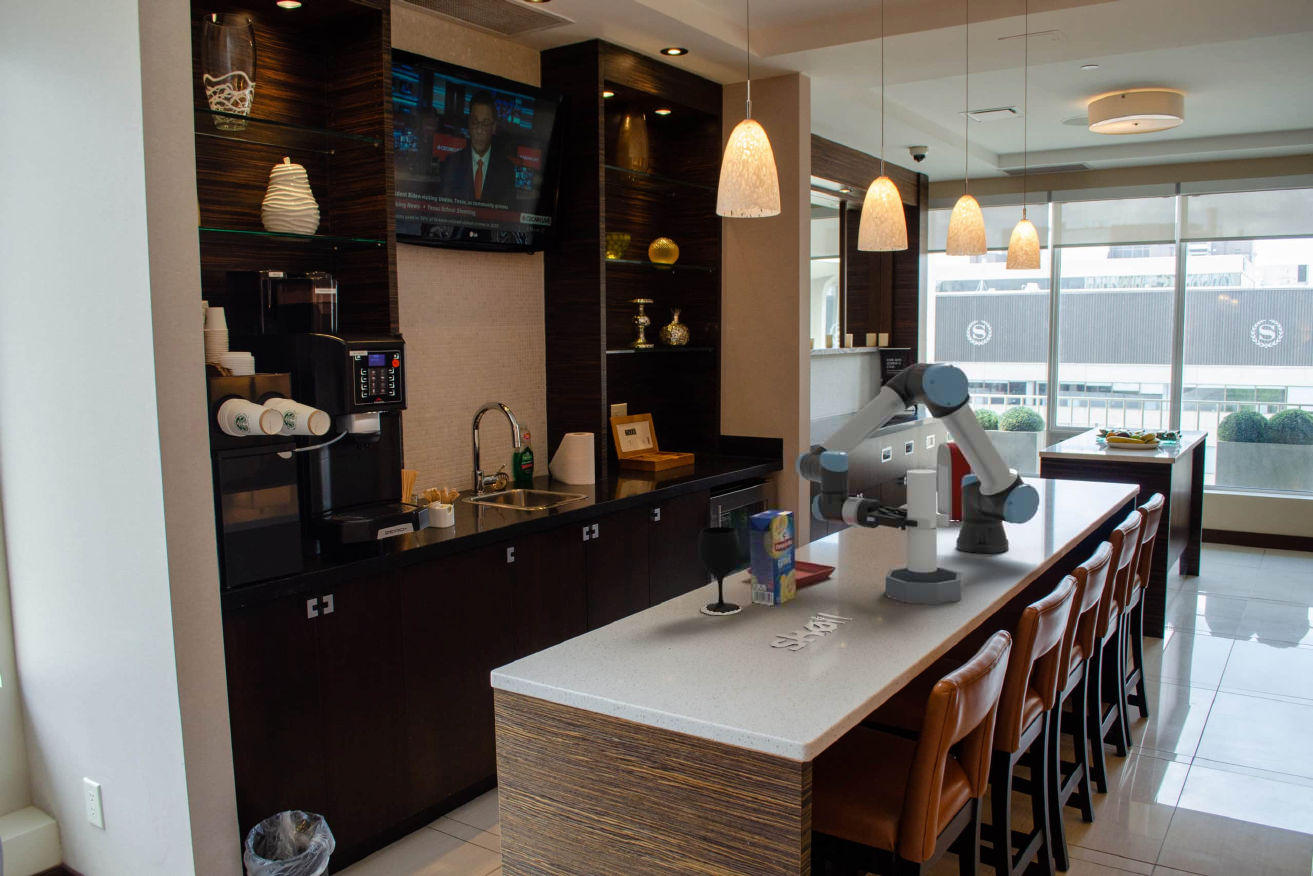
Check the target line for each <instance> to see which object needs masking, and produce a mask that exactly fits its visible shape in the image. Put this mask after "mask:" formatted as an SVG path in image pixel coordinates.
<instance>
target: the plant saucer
mask: <svg viewBox="0 0 1313 876" xmlns="http://www.w3.org/2000/svg"><path fill="white" fill-rule="evenodd" d="M836 569H837V567H836V566H832V565H826V564H821V563H820V564H819V563H815V562H814V563H813V562H808V561H802V560H797V559H795V579H796V588H799V587H802V585H803V586H805V585H808V584H812V583H815V582H818V581H821V580H824V579H828V578H829V577H830V576H831V575H832V574H833V573H834V571H835V570H836ZM746 572H747V573H748V574H749V575H750V576H751V570H750V568H746Z"/></svg>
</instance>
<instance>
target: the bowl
mask: <svg viewBox="0 0 1313 876" xmlns="http://www.w3.org/2000/svg"><path fill="white" fill-rule="evenodd" d="M886 595H887V596H890V597H891V598H890V597H889V598H890V599H893V598H895V599H894V600H896V599H898V600H897V601H899V600H901V601H900V602H902V601H904V602H903V603H905V602H912V603H911V604H918V603H925V604H924V605H942V604H945V603H951V602H956V601H961V598H962V572H958V571H957V570H956V571H955V570H952V569H948V568H944V567H938V566H937V570H936V571H934V572H913V571H910V570H908V566H906V567H899V568H893V569H888V570H887V573H886V575H885V596H886ZM887 596H886V597H887ZM941 603H942V604H941Z"/></svg>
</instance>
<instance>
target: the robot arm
mask: <svg viewBox="0 0 1313 876" xmlns="http://www.w3.org/2000/svg"><path fill="white" fill-rule="evenodd" d="M969 386H970V385H969V379H968V377H967V374H966V373H965V372H964V371H963V370H962V369H961V368H960V367H958V366H956V365H955V364H950V363H946V362H936V363H926V362H920V363H919V362H918V363H914V364H912V365H909V366H907V367H905V368H904V369H903V370H901V371H900V372H899V373H897V374H896V375H895V376H893V377H892V378H891V379H889V380H888V381H887V382H886V383H885V384H884V385H883V386H881V387H880V393H878V395H876V396H875V397H874V398H873V399H872V400H870V401H869V402H868V403H867V404H866V405H865V406H864V407H863V408H862V409H860V410H859V411H858V412H857V413H856V414H854V415H853V416H852V417H851V418H850V419H849V420H848V421H846V422H845V423H844V424H843V425H842V426H841V427H839V428H838V429H837V430H836V431H834V433H832V434H831V435H830V436H829V437H828V438H826V439H825V440H824V441H823V442H822V443H821V444H819V446H817V447H816V448H815V449H814V450H812V451H811V452H805V453H803V454H801V455H799V456H798V457H797V459H796V461H795V471H796V473H797V474H798V476H800V477H801V478H803V479H804V480H807V481H812V482H817V483H819V484H820V493H818V494H816V495H815V496H814V498H813V502H812V504H811V512H812V514H813V516H814V518H815V519H817V520H819V521H824V522H827V523H831V524H832V523H834V524H843V525H849V526H853V528H854V529H855V528H857V527H863V528H867V529H876V528H878V527H879V526H882V527H888V528H895V529H899V528H900V530H901V531H907V528H914V529H921V530H928V531H930V530H931V519H924V518H916V517H909V516H908V517H907V508H906V507H905V508H904V507H898V506H897V507H894V508H893V507H891V506H885V507H884V506H883V505H882V504H883V503H881V501H879V500H877V499H870V498H864V497H863V498H862V497H854V496H853V497H852V496H849V493H850V492H849V491H850V490H849V469H850V465H849V458H848V457H849V456H850V455H851V454H852V453H853V452H854V451H855V450H856V449H857V448H859V447H860V446H862V444H863V443H864V442H865V441H867V440H868V439H869V438H870V437H871V436H872V435H873V434H875V433H876V432H877V431H879V429H881V428H882V427H883V426H884V425H885V424H886V423H887V422H889V421H890V420H891V419H892V418H893V417H894V416H896V415H897V414H898V413H901V414H903V413H904V412H906V411H907V410H908V409H909V408H911V407H914V406H915V405H919V404H920V405H921V404H922V405H925V407H926V408H927V410H928V412H929V414H930V415H931V416H932V418H933V419H936V420H940V421H941V422H942V424H943V425H944V427H945V428H946V430H947V431H948V433H949V435H950V436H951V437H952V439H953V442H956V444H957V446H958V447H959V449H960V450H961V452H962V454H963V455H964V457H965V458H966V460H967V461H968V463H969V465H970V466H971V468H972V469H973V471H974V472H975V474H971V475H965V476H964V477H963V479H962V486H961V489H962V521H961V527H960V529H959V532H958V537H957V538H956V541H955V543H956V544H955V548H956V549H957V550H960V551H962V552H966V551H967V553H972V552H974V554H999V553H1004V552H1006V551H1009V548H1010V546H1009V545H1010V544H1009V539H1008V538H1007V534H1006V530H1005V527H1004V525H1003V522H1007V523H1009V524H1019V525H1023V524H1025V523H1028V522H1029V521H1030V520H1032V519H1033V518H1034V516H1036V513H1037V511H1038V510H1039V506H1040V494H1039V493H1038V491H1037V489H1036V488H1035V487H1034V486H1032V485H1031V484H1028V483H1024V481H1023V479H1022V478H1021V476H1020V474H1019V473H1018V472H1017V470H1016V469H1015V468H1014V469H1013V468H1010V467H1008V466H1007V464H1006V462H1005V460H1004V459H1003V457H1002V456H1001V454H1000V453H999V451H998V449H996V448H997V447H996V448H995V446H996V445H995V444H994V442H992V440H991V438H990V436H989V435H988V433H987V432H986V430H985V428H984V427H983V425H982V423H981V422H980V421H979V419H978V417H977V415H976V414H975V412H974V411H973V409H972V408H971V406H970V405H969V403H970V400H971V396H970V393H969ZM993 444H994V445H995V446H994V445H993ZM937 526H944V527H948V526H950V521H949V515H945V514H937ZM1003 551H1004V552H1003ZM998 552H999V553H998Z"/></svg>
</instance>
